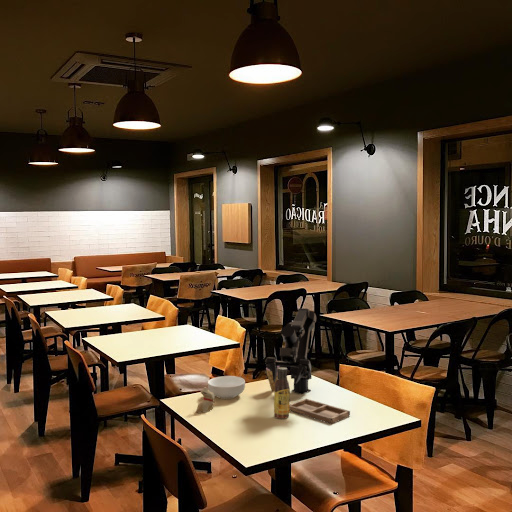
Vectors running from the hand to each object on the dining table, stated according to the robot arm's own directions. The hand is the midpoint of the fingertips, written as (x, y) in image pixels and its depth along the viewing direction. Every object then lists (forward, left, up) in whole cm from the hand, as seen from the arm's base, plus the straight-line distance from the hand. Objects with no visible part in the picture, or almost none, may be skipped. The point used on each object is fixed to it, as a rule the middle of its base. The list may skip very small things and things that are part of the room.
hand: (284, 382), depth 232 cm
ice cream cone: (-17, -24, -13) cm, 32 cm away
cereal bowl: (+2, -34, -13) cm, 36 cm away
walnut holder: (-8, +10, -12) cm, 18 cm away
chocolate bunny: (+21, -27, -13) cm, 36 cm away
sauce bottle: (+5, +2, -13) cm, 14 cm away
